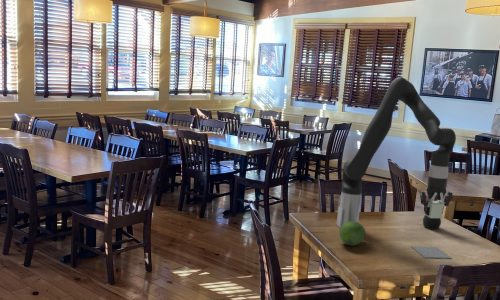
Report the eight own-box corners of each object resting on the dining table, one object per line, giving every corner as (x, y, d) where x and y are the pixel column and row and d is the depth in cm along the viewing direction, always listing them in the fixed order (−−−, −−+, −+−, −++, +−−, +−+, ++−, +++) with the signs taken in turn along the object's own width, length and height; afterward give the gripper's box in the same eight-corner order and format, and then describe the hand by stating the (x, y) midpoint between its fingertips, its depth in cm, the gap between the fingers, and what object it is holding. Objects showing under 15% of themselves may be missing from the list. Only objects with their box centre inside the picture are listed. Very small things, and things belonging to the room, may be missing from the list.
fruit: (350, 236, 216) (352, 215, 215) (370, 243, 210) (373, 221, 209) (333, 244, 205) (335, 221, 203) (354, 251, 199) (357, 228, 197)
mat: (424, 258, 197) (424, 257, 197) (411, 247, 209) (411, 246, 209) (451, 258, 199) (451, 257, 199) (437, 248, 210) (437, 247, 210)
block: (430, 218, 200) (432, 204, 199) (424, 214, 205) (426, 201, 204) (441, 218, 201) (443, 204, 200) (435, 214, 206) (437, 201, 205)
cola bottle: (419, 224, 244) (427, 166, 239) (435, 225, 245) (443, 167, 240) (426, 229, 236) (435, 170, 231) (443, 230, 236) (452, 171, 232)
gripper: (426, 177, 195) (421, 217, 198) (459, 178, 198) (454, 218, 200) (417, 173, 203) (413, 212, 205) (449, 174, 205) (444, 212, 208)
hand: (433, 214), depth 203 cm, fingers closed on block, 5 cm apart
